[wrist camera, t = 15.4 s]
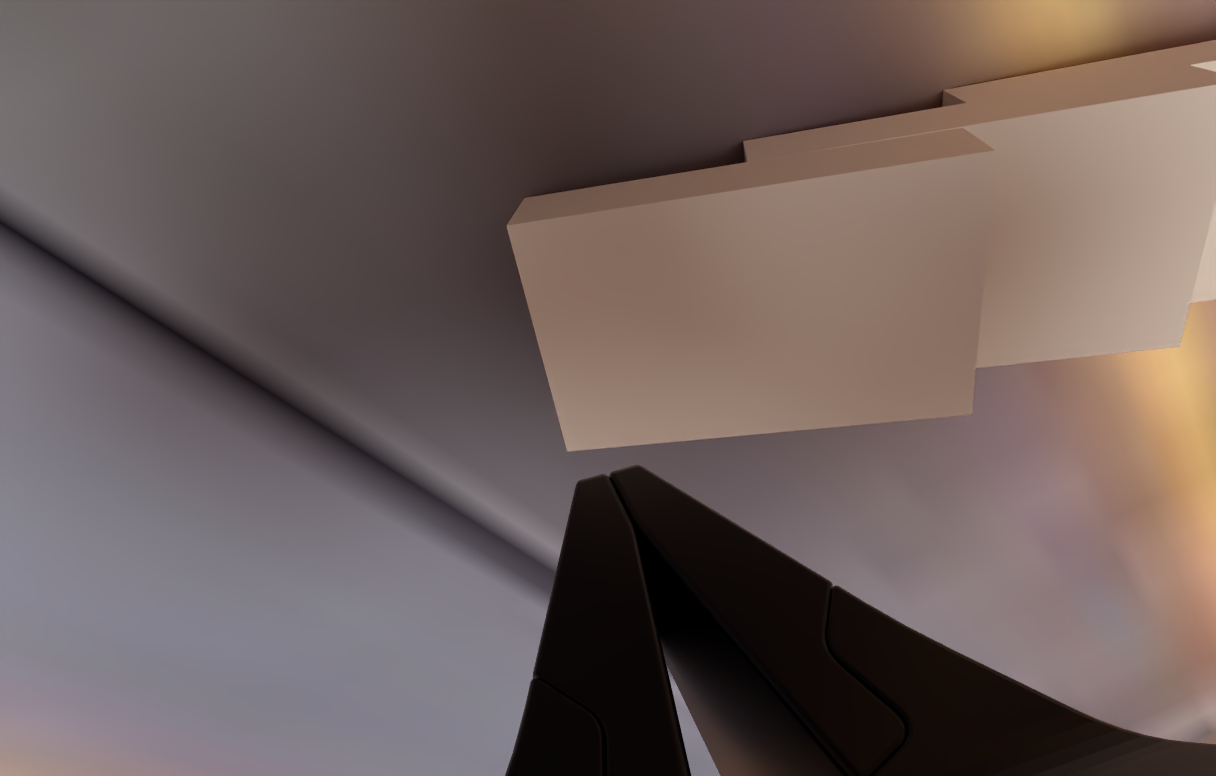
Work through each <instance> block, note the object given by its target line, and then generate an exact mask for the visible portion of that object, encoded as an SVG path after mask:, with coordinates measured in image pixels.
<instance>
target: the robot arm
mask: <svg viewBox="0 0 1216 776" xmlns="http://www.w3.org/2000/svg"><path fill="white" fill-rule="evenodd" d="M665 661H666V662H665ZM666 663H667V666H668V668H669V670H670V672H671V674H672V676H673V678H674V680H675V682H676V684H677V686H678V688H679V690H680V692H681V695H682V697H683V699H684V701H685V703H686V705H687V707H688V709H689V711H690V713H691V715H692V717H693V719H694V722H695V724H696V726H697V728H698V730H699V732H700V734H701V736H702V738H703V740H704V742H705V744H706V746H707V748H708V751H709V753H710V755H711V757H712V759H713V761H714V763H715V765H716V767H717V769H718V771H719V773H720V775H721V776H1216V744H1205V743H1194V742H1183V741H1175V740H1167V739H1162V738H1157V737H1152V736H1147V735H1144V734H1140V733H1137V732H1133V731H1130V730H1126V729H1123V728H1120V727H1117V726H1114V725H1112V724H1109V723H1106V722H1104V721H1101V720H1098V719H1096V718H1094V717H1091V716H1089V715H1087V714H1085V713H1082V712H1080V711H1078V710H1076V709H1074V708H1072V707H1070V706H1067V705H1065V704H1063V703H1061V702H1059V701H1057V700H1055V699H1053V698H1051V697H1049V696H1047V695H1045V694H1043V693H1041V692H1039V691H1037V690H1035V689H1032V688H1030V687H1028V686H1026V685H1024V684H1022V683H1020V682H1018V681H1016V680H1014V679H1012V678H1010V677H1008V676H1006V675H1004V674H1002V673H1000V672H997V671H995V670H993V669H991V668H989V667H987V666H985V665H983V664H981V663H979V662H977V661H975V660H973V659H971V658H969V657H967V656H965V655H963V654H960V653H958V652H956V651H954V650H952V649H950V648H948V647H946V646H944V645H943V644H941V643H939V642H937V641H935V640H933V639H931V638H929V637H927V636H925V635H923V634H921V633H919V632H917V631H915V630H913V629H911V628H909V627H907V626H905V625H904V624H902V623H900V622H898V621H897V620H895V619H893V618H891V617H890V616H888V615H886V614H884V613H883V612H881V611H879V610H878V609H876V608H874V607H872V606H871V605H869V604H867V603H865V602H864V601H862V600H860V599H859V598H857V597H855V596H854V595H852V594H850V593H849V592H847V591H846V590H844V589H842V588H841V587H839V586H834V587H833V585H832V583H831V582H830V581H829V580H827V579H825V578H824V577H822V576H821V575H819V574H817V573H816V572H814V571H812V570H811V569H809V568H807V567H806V566H804V565H802V564H801V563H799V562H798V561H796V560H794V559H793V558H791V557H789V556H788V555H786V554H784V553H783V552H781V551H780V550H778V549H776V548H775V547H773V546H771V545H770V544H768V543H766V542H765V541H763V540H762V539H760V538H758V537H757V536H755V535H753V534H752V533H750V532H748V531H747V530H745V529H744V528H742V527H740V526H739V525H737V524H735V523H734V522H732V521H730V520H729V519H727V518H726V517H724V516H722V515H721V514H719V513H717V512H716V511H714V510H712V509H711V508H709V507H708V506H706V505H704V504H703V503H701V502H699V501H698V500H696V499H694V498H693V497H691V496H690V495H688V494H686V493H685V492H683V491H681V490H680V489H678V488H676V487H675V486H673V485H672V484H670V483H668V482H667V481H665V480H663V479H662V478H660V477H658V476H657V475H655V474H654V473H652V472H650V471H649V470H647V469H645V468H644V467H642V466H639V465H635V466H631V467H627V468H623V469H620V470H616V471H613V472H611V474H610V476H609V477H608V476H607V475H605V474H601V475H598V476H594V477H590V478H587V479H583V480H580V481H578V482H577V484H576V487H575V491H574V496H573V500H572V504H571V509H570V513H569V518H568V522H567V526H566V531H565V535H564V540H563V544H562V548H561V553H560V557H559V562H558V566H557V570H556V575H555V579H554V584H553V588H552V592H551V597H550V601H549V605H548V610H547V614H546V619H545V623H544V627H543V632H542V636H541V641H540V645H539V649H538V654H537V658H536V663H535V667H534V671H533V679H532V681H531V683H530V687H529V692H528V696H527V700H526V705H525V709H524V713H523V717H522V720H521V724H520V728H519V732H518V735H517V739H516V743H515V747H514V750H513V754H512V757H511V760H510V763H509V765H508V768H507V771H506V774H505V776H691V773H690V768H689V764H688V759H687V755H686V751H685V746H684V742H683V737H682V733H681V728H680V724H679V719H678V715H677V711H676V706H675V702H674V697H673V693H672V688H671V684H670V679H669V675H668V671H667V666H666Z"/></svg>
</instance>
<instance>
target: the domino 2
mask: <svg viewBox="0 0 1216 776" xmlns="http://www.w3.org/2000/svg"><path fill="white" fill-rule="evenodd" d="M957 128H964V129H966V130H967V131H969V132H970V133H971V134H973V135H974V136H976V137H977V138H979V139H980V140H981V141H983V142H984V143H986V144H987V145H989V146H990V147H991V148H993V149H994V150H995V160H994V171H993V182H992V194H991V205H990V216H989V228H988V239H987V250H986V261H985V273H984V284H983V295H982V307H981V318H980V329H979V341H978V352H977V363H976V368H982V367H991V366H1001V365H1010V364H1020V363H1029V362H1039V361H1048V360H1058V359H1068V358H1077V357H1087V356H1096V355H1106V354H1115V353H1125V352H1134V351H1144V350H1153V349H1163V348H1173V347H1180V343H1181V339H1182V335H1183V331H1184V327H1185V323H1186V319H1187V315H1188V311H1189V307H1190V303H1191V299H1192V295H1193V291H1194V287H1195V283H1196V279H1197V275H1198V270H1199V266H1200V262H1201V258H1202V254H1203V250H1204V246H1205V242H1206V238H1207V234H1208V230H1209V226H1210V222H1211V218H1212V214H1213V210H1214V206H1215V202H1216V72H1214V71H1211V70H1207V69H1203V68H1199V67H1195V66H1191V65H1185V66H1179V67H1173V68H1167V69H1162V70H1156V71H1150V72H1144V73H1138V74H1132V75H1126V76H1121V77H1115V78H1109V79H1103V80H1097V81H1091V82H1086V83H1080V84H1074V85H1068V86H1062V87H1056V88H1051V89H1045V90H1039V91H1033V92H1027V93H1021V94H1015V95H1010V96H1004V97H998V98H992V99H986V100H980V101H975V102H969V103H963V104H957V105H951V106H945V107H939V108H934V109H928V110H922V111H916V112H910V113H904V114H899V115H893V116H887V117H881V118H875V119H869V120H863V121H858V122H852V123H846V124H840V125H834V126H828V127H823V128H817V129H811V130H805V131H799V132H793V133H788V134H782V135H776V136H770V137H764V138H758V139H752V140H747V141H743V145H744V156H745V162H751V161H757V160H763V159H770V158H776V157H782V156H788V155H795V154H801V153H807V152H813V151H819V150H826V149H832V148H838V147H844V146H851V145H857V144H863V143H869V142H875V141H882V140H888V139H894V138H900V137H907V136H913V135H919V134H925V133H932V132H938V131H944V130H950V129H957Z"/></svg>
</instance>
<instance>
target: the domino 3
mask: <svg viewBox="0 0 1216 776" xmlns="http://www.w3.org/2000/svg"><path fill="white" fill-rule="evenodd" d="M1185 65H1191V66H1195V67H1199V68H1203V69H1207V70H1211V71H1214V72H1216V40H1212V41H1207V42H1201V43H1196V44H1191V45H1185V46H1180V47H1174V48H1169V49H1163V50H1158V51H1153V52H1147V53H1142V54H1136V55H1131V56H1125V57H1120V58H1115V59H1109V60H1104V61H1098V62H1093V63H1087V64H1082V65H1077V66H1071V67H1066V68H1060V69H1055V70H1049V71H1044V72H1038V73H1033V74H1028V75H1022V76H1017V77H1011V78H1006V79H1000V80H995V81H990V82H984V83H979V84H973V85H968V86H962V87H957V88H952V89H946V90H943V106H942V107H945V106H951V105H957V104H963V103H969V102H975V101H980V100H986V99H992V98H998V97H1004V96H1010V95H1015V94H1021V93H1027V92H1033V91H1039V90H1045V89H1051V88H1056V87H1062V86H1068V85H1074V84H1080V83H1086V82H1091V81H1097V80H1103V79H1109V78H1115V77H1121V76H1126V75H1132V74H1138V73H1144V72H1150V71H1156V70H1162V69H1167V68H1173V67H1179V66H1185ZM1208 300H1216V202H1215V206H1214V210H1213V214H1212V218H1211V222H1210V226H1209V230H1208V234H1207V238H1206V242H1205V246H1204V250H1203V254H1202V258H1201V262H1200V266H1199V270H1198V275H1197V279H1196V283H1195V287H1194V291H1193V295H1192V299H1191V303H1193V302H1200V301H1208Z"/></svg>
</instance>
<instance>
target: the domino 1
mask: <svg viewBox="0 0 1216 776" xmlns="http://www.w3.org/2000/svg"><path fill="white" fill-rule="evenodd" d="M994 160H995V150H994V149H993V148H991V147H990V146H989V145H987V144H986V143H984V142H983V141H981V140H980V139H979V138H977V137H976V136H974V135H973V134H971V133H970V132H969V131H967V130H966V129H964V128H957V129H950V130H944V131H938V132H932V133H925V134H919V135H913V136H907V137H900V138H894V139H888V140H882V141H875V142H869V143H863V144H857V145H851V146H844V147H838V148H832V149H826V150H819V151H813V152H807V153H801V154H795V155H788V156H782V157H776V158H770V159H763V160H757V161H751V162H745V163H739V164H732V165H726V166H720V167H714V168H708V169H701V170H695V171H689V172H683V173H676V174H670V175H664V176H658V177H652V178H645V179H639V180H633V181H627V182H620V183H614V184H608V185H602V186H596V187H589V188H583V189H577V190H571V191H565V192H558V193H552V194H546V195H540V196H533V197H527V198H524V200H523V201H522V203H521V204H520V206H519V207H518V209H517V210H516V212H515V213H514V215H513V216H512V218H511V219H510V221H509V222H508V224H507V225H506V226H507V230H508V234H509V237H510V241H511V245H512V249H513V252H514V256H515V260H516V263H517V267H518V271H519V275H520V278H521V282H522V286H523V289H524V293H525V297H526V301H527V304H528V308H529V312H530V315H531V319H532V323H533V326H534V330H535V334H536V338H537V341H538V345H539V349H540V352H541V356H542V360H543V364H544V367H545V371H546V375H547V378H548V382H549V386H550V390H551V393H552V397H553V401H554V404H555V408H556V412H557V415H558V419H559V423H560V427H561V430H562V434H563V438H564V441H565V445H566V449H567V452H568V451H579V450H590V449H601V448H612V447H623V446H634V445H645V444H656V443H667V442H678V441H689V440H700V439H711V438H722V437H733V436H744V435H755V434H766V433H777V432H788V431H799V430H810V429H821V428H832V427H843V426H854V425H865V424H876V423H887V422H898V421H909V420H920V419H931V418H942V417H953V416H963V415H972V408H973V397H974V386H975V375H976V363H977V352H978V341H979V329H980V318H981V307H982V295H983V284H984V273H985V261H986V250H987V239H988V228H989V216H990V205H991V194H992V182H993V171H994Z"/></svg>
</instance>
